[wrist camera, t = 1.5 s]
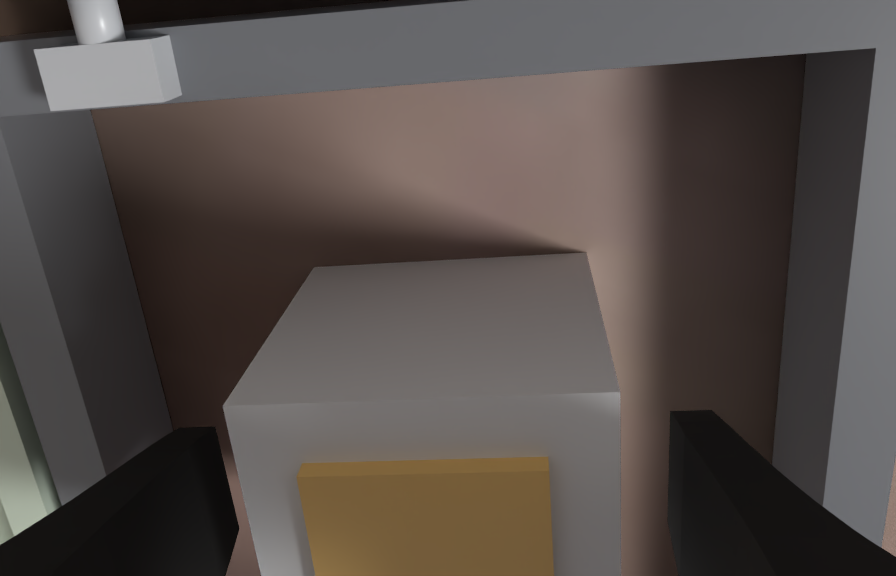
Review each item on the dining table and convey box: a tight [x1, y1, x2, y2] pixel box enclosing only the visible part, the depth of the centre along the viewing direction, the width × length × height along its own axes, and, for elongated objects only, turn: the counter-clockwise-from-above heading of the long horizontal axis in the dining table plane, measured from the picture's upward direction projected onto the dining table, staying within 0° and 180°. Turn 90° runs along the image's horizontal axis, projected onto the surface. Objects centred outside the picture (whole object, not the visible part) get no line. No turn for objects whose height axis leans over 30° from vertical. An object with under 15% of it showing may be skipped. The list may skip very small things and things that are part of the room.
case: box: [0, 0, 896, 547], centre depth 13 cm, size 15×14×5 cm
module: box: [223, 252, 621, 576], centre depth 13 cm, size 5×5×5 cm
